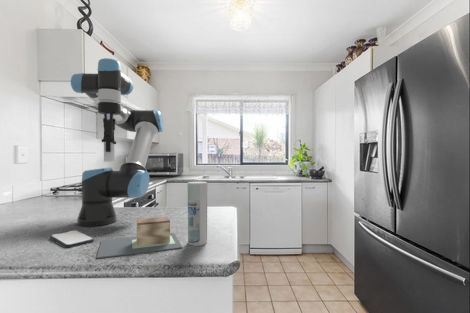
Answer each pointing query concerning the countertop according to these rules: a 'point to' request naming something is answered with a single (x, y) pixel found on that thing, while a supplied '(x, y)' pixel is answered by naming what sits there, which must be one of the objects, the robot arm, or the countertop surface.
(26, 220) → the countertop surface
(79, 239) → the phone case
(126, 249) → the mat
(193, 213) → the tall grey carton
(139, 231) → the box
